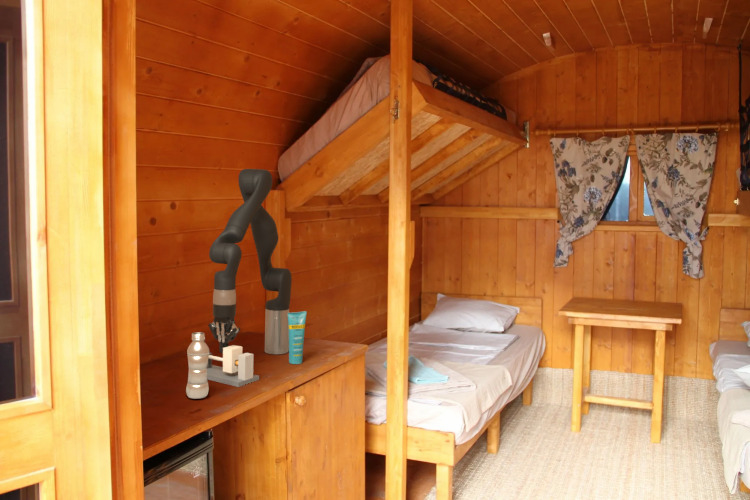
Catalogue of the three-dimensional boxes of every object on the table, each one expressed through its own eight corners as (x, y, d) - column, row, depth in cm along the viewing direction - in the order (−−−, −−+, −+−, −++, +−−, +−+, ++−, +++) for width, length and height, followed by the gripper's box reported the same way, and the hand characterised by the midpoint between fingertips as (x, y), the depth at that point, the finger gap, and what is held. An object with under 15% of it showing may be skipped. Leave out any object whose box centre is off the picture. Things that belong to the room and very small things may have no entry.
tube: (289, 365, 244) (290, 313, 242) (283, 362, 248) (285, 311, 246) (307, 363, 248) (309, 312, 246) (301, 360, 252) (303, 309, 250)
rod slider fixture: (211, 368, 236) (212, 342, 235) (259, 380, 224) (259, 352, 223) (190, 375, 227) (190, 347, 226) (238, 387, 216) (238, 358, 215)
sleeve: (233, 368, 227) (233, 345, 226) (242, 370, 225) (242, 346, 224) (222, 371, 222) (223, 347, 222) (231, 373, 220) (231, 349, 220)
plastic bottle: (188, 394, 207) (188, 331, 205) (210, 394, 207) (211, 331, 205) (184, 401, 200) (184, 335, 198) (206, 401, 201) (207, 336, 199)
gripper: (247, 303, 223) (246, 353, 225) (218, 298, 230) (217, 347, 232) (231, 306, 217) (230, 358, 219) (202, 301, 224) (201, 351, 225)
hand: (223, 352), depth 225 cm, fingers closed
